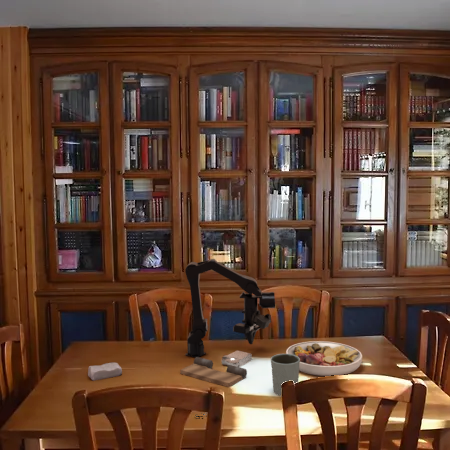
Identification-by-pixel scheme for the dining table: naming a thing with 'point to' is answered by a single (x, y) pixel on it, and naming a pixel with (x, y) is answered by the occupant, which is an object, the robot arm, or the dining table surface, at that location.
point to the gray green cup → (284, 370)
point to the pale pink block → (236, 359)
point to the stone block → (104, 371)
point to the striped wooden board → (214, 372)
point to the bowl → (326, 358)
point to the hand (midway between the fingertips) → (250, 344)
